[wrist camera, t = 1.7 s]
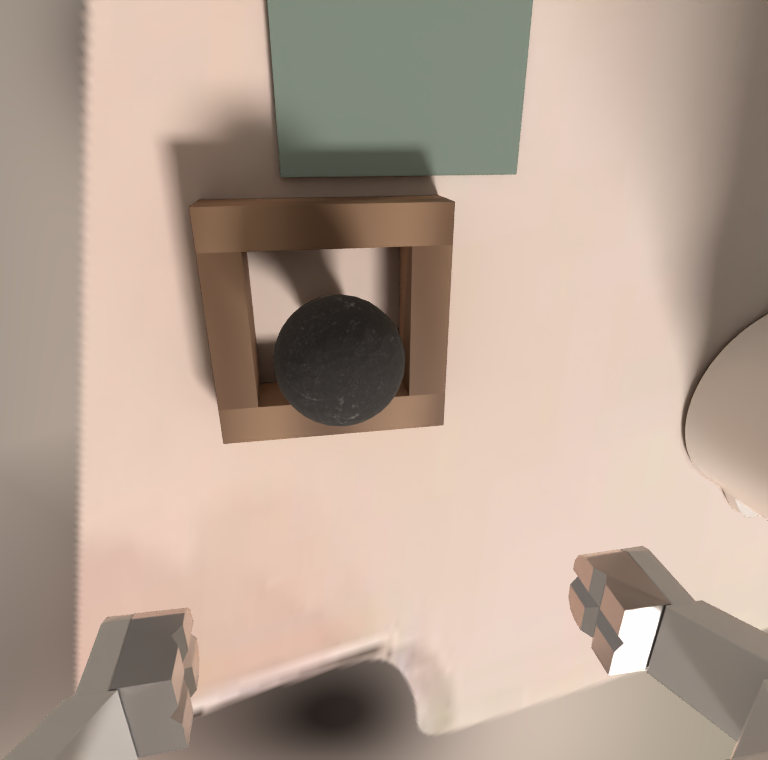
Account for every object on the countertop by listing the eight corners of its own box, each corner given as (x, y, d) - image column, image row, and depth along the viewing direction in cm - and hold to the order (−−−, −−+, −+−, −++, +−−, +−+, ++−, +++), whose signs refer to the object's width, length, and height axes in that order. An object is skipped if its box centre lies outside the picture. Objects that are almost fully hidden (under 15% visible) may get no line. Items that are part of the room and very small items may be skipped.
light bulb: (391, 337, 31) (436, 421, 22) (300, 373, 31) (307, 472, 22) (357, 245, 28) (391, 295, 19) (258, 284, 28) (246, 353, 19)
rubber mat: (535, -67, 24) (539, -70, 24) (513, 173, 28) (516, 174, 28) (261, -83, 22) (260, -86, 22) (280, 176, 26) (280, 177, 26)
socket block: (438, 195, 28) (454, 201, 25) (430, 401, 33) (443, 425, 30) (198, 199, 26) (189, 207, 23) (228, 417, 31) (223, 443, 28)
